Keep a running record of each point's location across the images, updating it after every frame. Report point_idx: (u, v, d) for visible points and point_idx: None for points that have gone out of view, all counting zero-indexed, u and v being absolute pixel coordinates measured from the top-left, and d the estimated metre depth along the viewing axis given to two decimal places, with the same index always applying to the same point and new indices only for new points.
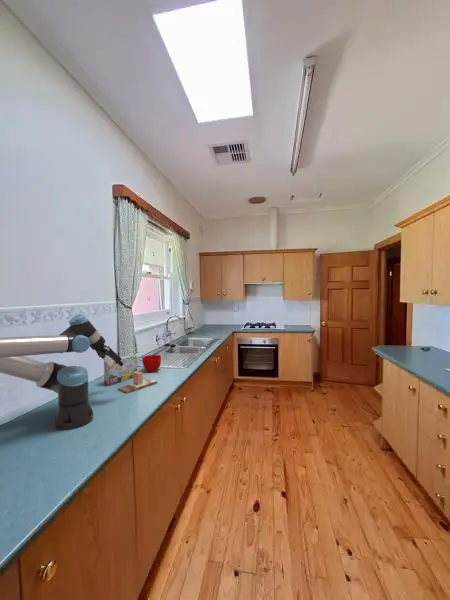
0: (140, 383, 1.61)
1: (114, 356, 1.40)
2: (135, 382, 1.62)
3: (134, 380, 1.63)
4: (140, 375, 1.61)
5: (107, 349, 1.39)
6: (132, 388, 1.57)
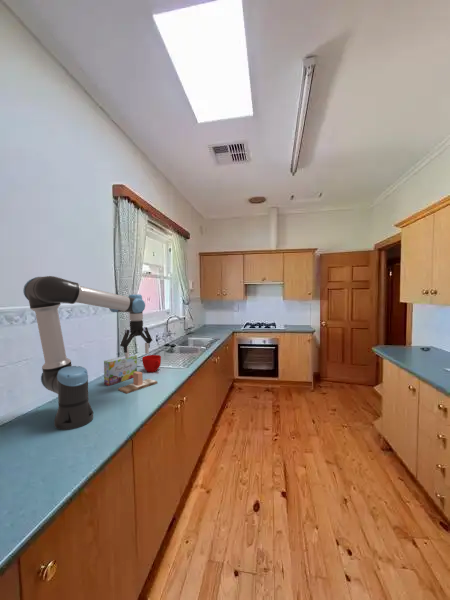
0: (140, 383, 1.61)
1: None
2: (135, 382, 1.62)
3: (134, 380, 1.63)
4: (140, 375, 1.61)
5: None
6: (132, 388, 1.57)
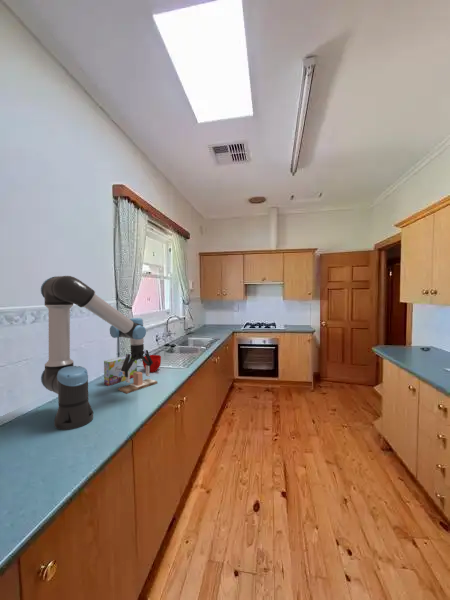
0: (140, 383, 1.61)
1: None
2: (135, 382, 1.62)
3: (134, 380, 1.63)
4: (140, 375, 1.61)
5: None
6: (132, 388, 1.57)
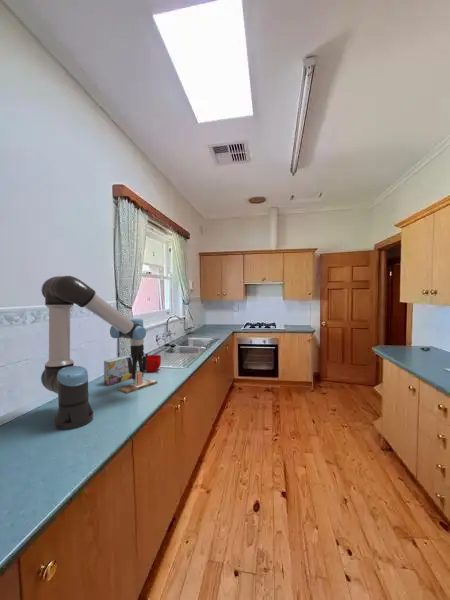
0: (140, 383, 1.61)
1: None
2: None
3: None
4: (140, 375, 1.61)
5: None
6: (132, 388, 1.57)
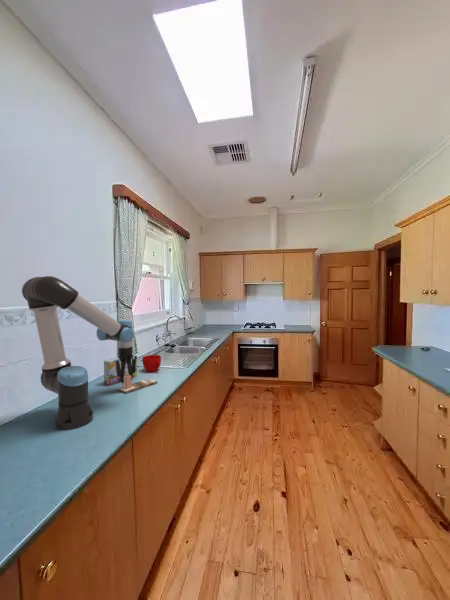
0: (129, 387, 1.55)
1: None
2: None
3: None
4: (129, 378, 1.55)
5: None
6: None
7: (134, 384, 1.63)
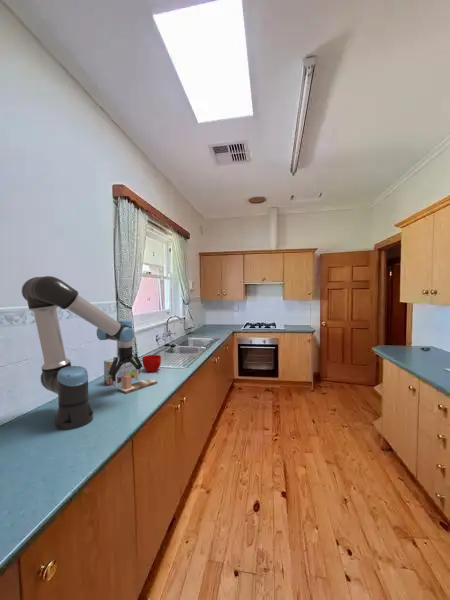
0: (129, 387, 1.55)
1: None
2: (124, 386, 1.56)
3: (122, 383, 1.57)
4: (129, 378, 1.55)
5: None
6: None
7: (134, 384, 1.63)
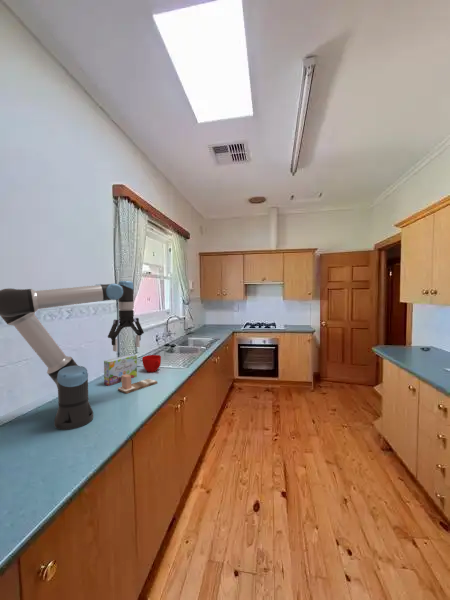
0: (129, 387, 1.55)
1: None
2: (124, 386, 1.56)
3: (122, 383, 1.57)
4: (129, 378, 1.55)
5: None
6: None
7: (134, 384, 1.63)
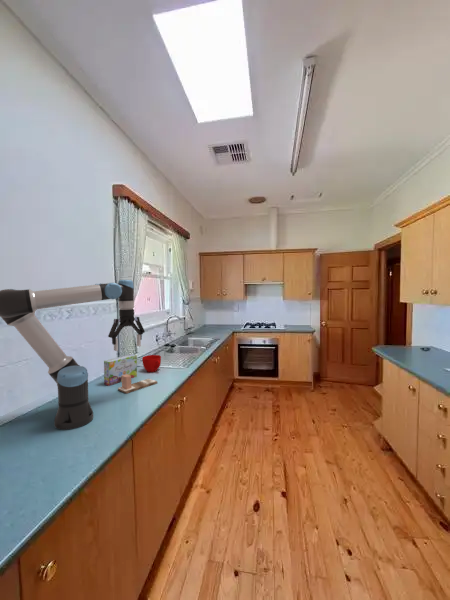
0: (129, 387, 1.55)
1: None
2: (124, 386, 1.56)
3: (122, 383, 1.57)
4: (129, 378, 1.55)
5: None
6: None
7: (134, 384, 1.63)
